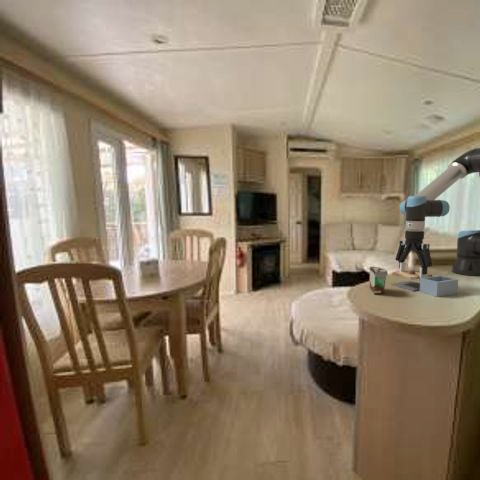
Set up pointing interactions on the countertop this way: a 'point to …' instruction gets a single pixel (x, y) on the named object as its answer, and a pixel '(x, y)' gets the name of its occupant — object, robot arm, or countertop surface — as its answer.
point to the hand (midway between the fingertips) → (411, 278)
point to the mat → (408, 285)
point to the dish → (438, 285)
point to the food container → (377, 280)
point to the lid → (409, 274)
